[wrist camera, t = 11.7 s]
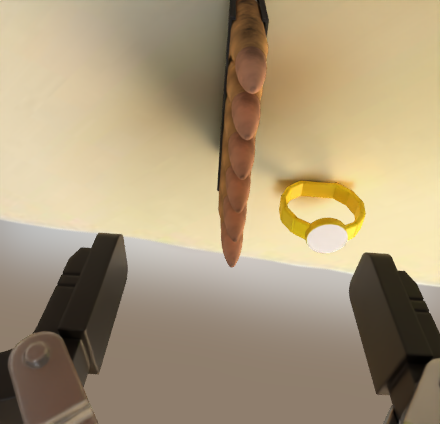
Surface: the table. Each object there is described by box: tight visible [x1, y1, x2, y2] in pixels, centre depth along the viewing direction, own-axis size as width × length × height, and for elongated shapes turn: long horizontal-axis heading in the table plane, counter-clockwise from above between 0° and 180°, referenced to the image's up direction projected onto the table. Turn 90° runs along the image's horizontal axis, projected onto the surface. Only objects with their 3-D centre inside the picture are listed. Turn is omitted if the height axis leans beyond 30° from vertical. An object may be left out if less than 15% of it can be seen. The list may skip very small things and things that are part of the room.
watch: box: [279, 181, 366, 253], centre depth 27 cm, size 6×3×6 cm, turn 89°
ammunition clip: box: [217, 0, 269, 267], centre depth 20 cm, size 11×2×12 cm, turn 177°
